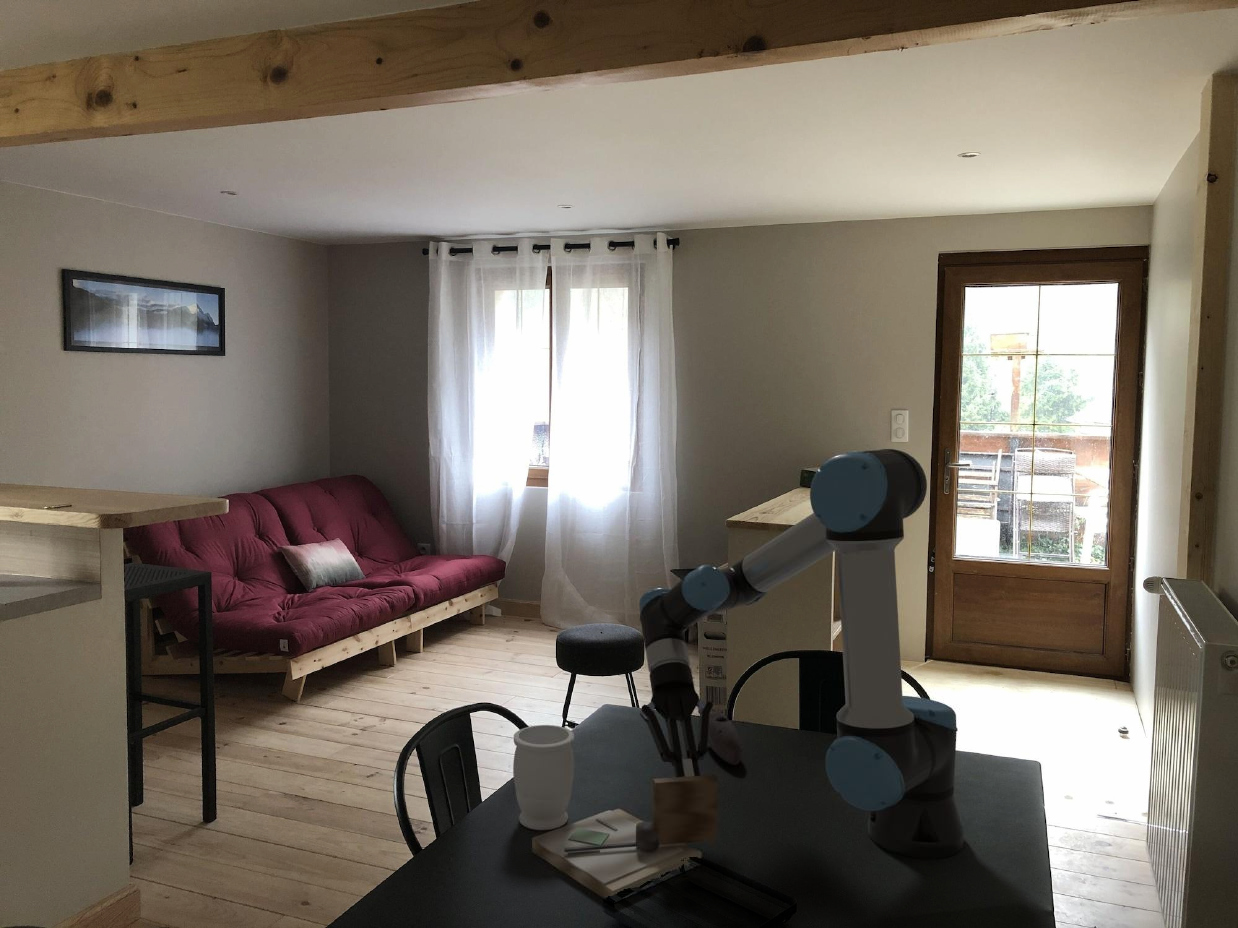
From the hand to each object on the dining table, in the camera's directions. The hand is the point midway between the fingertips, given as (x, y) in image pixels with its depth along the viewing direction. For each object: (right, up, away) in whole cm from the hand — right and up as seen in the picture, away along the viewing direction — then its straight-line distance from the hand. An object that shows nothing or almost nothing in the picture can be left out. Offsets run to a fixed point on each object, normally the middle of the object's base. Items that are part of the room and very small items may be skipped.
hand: (692, 800), depth 155 cm
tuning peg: (-8, -5, -6) cm, 12 cm away
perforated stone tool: (+10, -5, +37) cm, 39 cm away
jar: (-25, -6, +8) cm, 27 cm away
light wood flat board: (-12, -7, -5) cm, 15 cm away
